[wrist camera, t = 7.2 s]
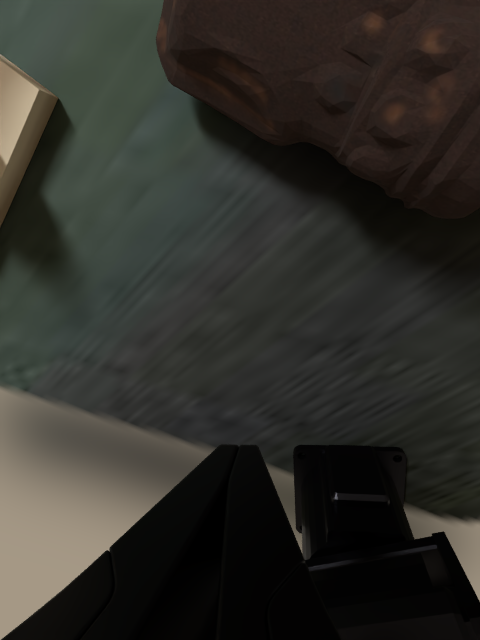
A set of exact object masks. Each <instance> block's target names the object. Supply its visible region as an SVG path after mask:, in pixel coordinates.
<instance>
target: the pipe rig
mask: <svg viewBox="0 0 480 640" xmlns="http://www.w3.org/2000/svg"><path fill="white" fill-rule="evenodd" d="M57 100H58V97H56V96H55V95H54V94H53V93H51V92H50V91H49V90H47V89H46V88H45V87H43V86H42V85H41V84H39V83H38V82H37V81H35V80H34V79H33V78H31V77H30V76H29V75H27V74H26V73H25V72H23V71H22V70H21V69H19V68H18V67H17V66H16V65H14V64H13V63H12V62H10V61H9V60H8V59H6V58H5V57H4V56H2V55H1V54H0V227H1V225H2V223H3V220H4V218H5V216H6V214H7V212H8V209H9V207H10V205H11V203H12V200H13V198H14V196H15V194H16V191H17V189H18V187H19V185H20V183H21V180H22V178H23V176H24V174H25V171H26V169H27V167H28V165H29V162H30V160H31V158H32V156H33V154H34V151H35V149H36V147H37V145H38V142H39V140H40V138H41V136H42V133H43V131H44V129H45V127H46V125H47V122H48V120H49V118H50V116H51V113H52V111H53V109H54V107H55V104H56V102H57Z"/></svg>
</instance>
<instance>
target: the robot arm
mask: <svg viewBox="0 0 480 640" xmlns="http://www.w3.org/2000/svg"><path fill="white" fill-rule="evenodd" d="M301 452H302V453H304V454H305V455H299V453H301ZM395 455H400V456H399V457H398V458H393V457H394V456H395ZM293 458H294V486H295V513H296V529H297V531H298V532H299V533H302V550H303V555H302V552H301V550H300V547H299V545H298V543H297V540H296V538H295V535H294V533H293V530H292V528H291V525H290V523H289V521H288V518H287V516H286V513H285V511H284V508H283V506H282V503H281V501H280V498H279V496H278V494H277V491H276V489H275V486H274V484H273V481H272V479H271V477H270V474H269V472H268V469H267V467H266V464H265V462H264V459H263V457H262V455H261V452H260V450H259V447H258V446H257V445H241V446H239V447H238V445H226V444H223V445H220V446H218V447H217V448H216V449H215V450H214V451H213V452H212V453H211V454H210V455H209V456H208V457H207V458H205V459H204V460H203V461H202V462H201V463H200V464H199V465H198V466H197V467H196V468H195V469H194V470H193V471H191V472H190V473H189V474H188V475H187V476H186V477H185V478H184V479H183V480H182V481H181V482H180V483H179V484H177V485H176V486H175V487H174V488H173V489H172V490H171V491H170V492H169V493H168V494H167V495H166V496H165V497H163V498H162V499H161V500H160V501H159V502H158V503H157V504H156V505H155V506H154V507H153V508H152V509H151V510H150V511H148V512H147V513H146V514H145V515H144V516H143V517H142V518H141V519H140V520H139V521H138V522H137V523H135V524H134V525H133V526H132V527H131V528H130V529H129V530H128V531H127V532H126V533H125V534H124V535H123V536H122V537H120V538H119V539H118V540H117V541H116V542H115V543H114V544H113V545H112V546H111V547H110V549H109V550H110V552H109V551H108V550H107V551H105V552H104V553H103V554H102V555H101V556H100V557H99V558H98V559H97V560H95V561H94V562H93V563H92V564H91V565H90V566H89V567H88V568H87V569H86V570H84V571H83V572H82V573H81V574H80V575H79V576H78V577H77V578H75V579H74V580H73V581H72V582H71V583H70V584H69V585H68V586H66V587H65V588H64V589H63V590H62V591H61V592H59V593H58V594H57V595H56V596H55V597H53V598H52V599H51V600H50V601H48V602H47V603H46V604H45V605H44V606H43V607H41V608H40V609H39V610H38V611H36V612H35V613H34V614H33V615H31V616H30V617H29V618H28V619H27V620H25V621H24V622H23V623H21V624H20V625H19V626H18V627H16V628H15V629H14V630H13V631H11V632H10V633H9V634H8V635H6V636H5V637H4V638H3V639H1V640H480V602H479V600H478V598H477V596H476V594H475V591H474V590H473V588H472V586H471V584H470V582H469V580H468V578H467V576H466V574H465V572H464V570H463V568H462V566H461V564H460V562H459V560H458V558H457V556H456V554H455V552H454V550H453V548H452V547H451V545H450V542H449V541H448V539H447V537H446V535H445V533H444V532H438V533H433V534H432V536H431V537H425V538H420V539H414V537H413V534H412V531H411V529H410V526H409V523H408V520H407V517H406V514H405V511H404V509H403V504H404V490H405V475H406V461H407V458H406V455H405V453H404V451H403V450H402V449H401V448H398V447H371V446H350V445H328V446H326V445H298V446H296V447H295V448H294V451H293Z"/></svg>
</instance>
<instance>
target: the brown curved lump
mask: <svg viewBox="0 0 480 640" xmlns="http://www.w3.org/2000/svg"><path fill="white" fill-rule="evenodd" d="M156 44H157V51H158V54H159V57H160V61H161V64H162V67H163V69H164V71H165V74H166V76H167V79H168V81H169V82H170V83H171V84H172V85H173V86H175V87H177V88H179V89H180V90H182V91H184V92H186V93H188V94H189V95H191V96H193V97H195V98H197V99H198V100H200V101H202V102H204V103H205V104H207V105H209V106H211V107H212V108H214V109H216V110H217V111H219V112H221V113H222V114H224V115H226V116H227V117H229V118H230V119H232V120H234V121H235V122H237V123H239V124H240V125H242V126H243V127H245V128H246V129H248V130H249V131H251V132H252V133H254V134H255V135H257V136H258V137H260V138H262V139H264V140H265V141H267V142H269V143H271V144H273V145H279V146H285V145H290V144H294V143H298V142H309V143H311V144H313V145H316V146H318V147H320V148H322V149H325V150H326V151H328V152H329V153H330V154H331V155H332V156H333V157H334V158H335V159H336V160H337V161H338V162H339V164H342V165H344V166H347V168H348V170H349V171H350V172H352V173H353V174H354V175H356V176H358V177H360V178H362V179H365V180H368V181H372V182H374V183H375V184H377V185H379V186H380V187H382V188H383V189H384V191H385V193H386V195H388V196H389V197H390V198H399V199H400V200H402V201H403V203H404V206H405V208H410V209H412V208H417V209H421V210H423V211H424V212H426V213H428V214H429V215H431V216H433V217H437V218H444V219H457V218H464V217H466V216H468V215H469V214H471V213H473V212H474V211H476V210H477V209H479V208H480V0H164V3H163V9H162V14H161V19H160V23H159V27H158V32H157V36H156Z"/></svg>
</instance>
